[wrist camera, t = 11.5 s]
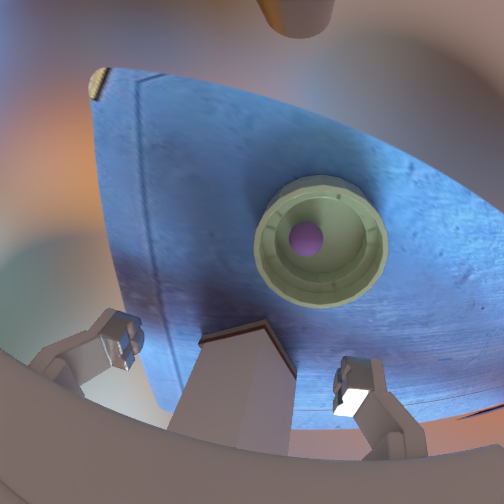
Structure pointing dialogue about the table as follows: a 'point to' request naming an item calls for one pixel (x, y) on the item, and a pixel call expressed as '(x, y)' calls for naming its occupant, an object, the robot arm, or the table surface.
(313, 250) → the ball
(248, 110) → the table surface
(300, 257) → the bowl
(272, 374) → the brown-rimmed upright block
